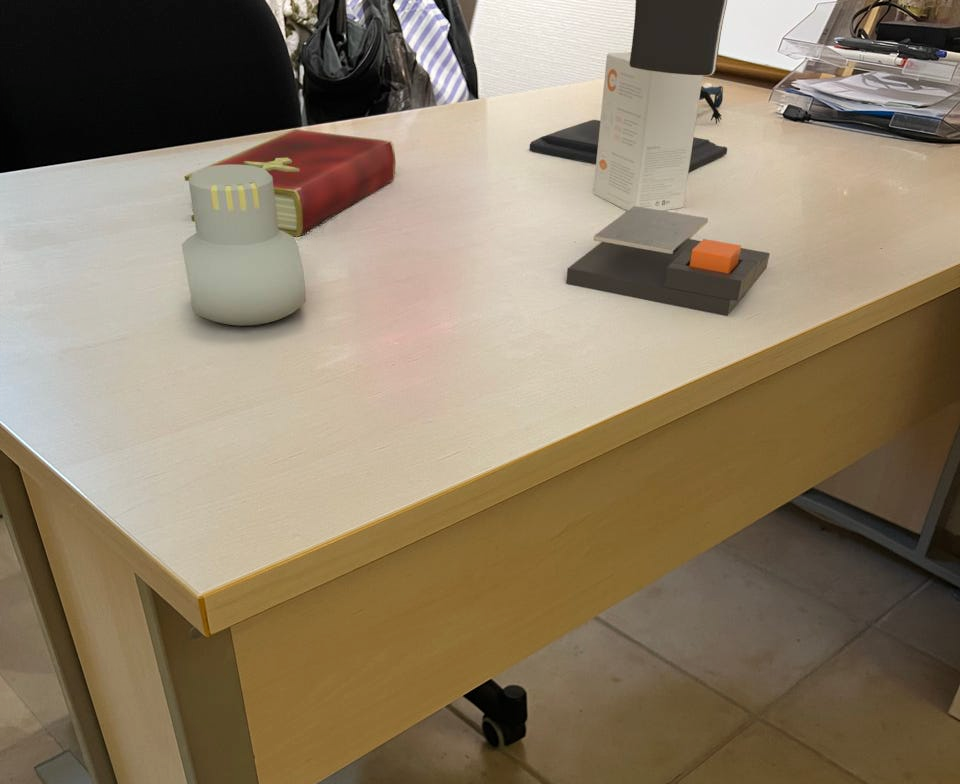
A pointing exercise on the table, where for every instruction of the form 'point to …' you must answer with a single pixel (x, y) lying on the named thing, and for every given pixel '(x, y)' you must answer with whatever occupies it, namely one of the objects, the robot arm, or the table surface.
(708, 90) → the person figurine
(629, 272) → the scale
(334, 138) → the hardcover book
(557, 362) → the table surface
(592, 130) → the wallet
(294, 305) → the air freshener
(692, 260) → the button
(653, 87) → the small box
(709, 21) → the battery charger
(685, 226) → the weighing plate
